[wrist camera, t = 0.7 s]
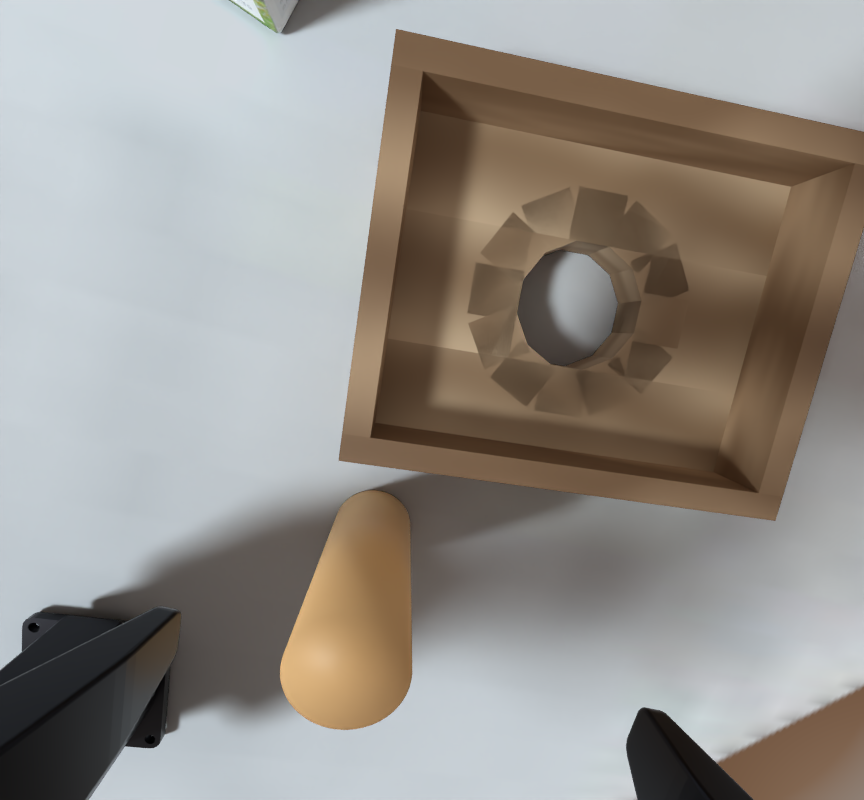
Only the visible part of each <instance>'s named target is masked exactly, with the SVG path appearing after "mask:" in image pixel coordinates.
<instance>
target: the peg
mask: <svg viewBox="0 0 864 800" xmlns="http://www.w3.org/2000/svg"><path fill="white" fill-rule="evenodd" d="M411 678H412V621H411V542H410V518H409V515H408V512H407V510H406V508H405V507H404V505H403V504H402V503H401V502H400V501H399V500H398V499H397V498H396V497H394V496H393V495H391V494H388V493H386V492H383V491H377V490H368V491H363V492H360V493H357V494H355V495H353V496H351V497H350V498H349V499H347V500H346V501H345V502H344V503H343V504H342V506H341V507H340V509H339V511H338V513H337V516H336V518H335V521H334V523H333V526H332V529H331V531H330V534H329V536H328V539H327V542H326V544H325V547H324V550H323V552H322V555H321V557H320V560H319V563H318V565H317V568H316V570H315V573H314V576H313V578H312V581H311V583H310V586H309V589H308V591H307V594H306V597H305V599H304V602H303V604H302V607H301V610H300V612H299V615H298V617H297V620H296V623H295V625H294V628H293V631H292V633H291V636H290V638H289V641H288V644H287V646H286V649H285V651H284V654H283V657H282V660H281V665H280V680H281V685H282V689H283V691H284V694H285V696H286V698H287V699H288V701H289V703H290V704H291V705H292V706H293V708H294V709H295V710H296V711H297V712H298V713H299V714H301V715H302V716H303V717H305V718H306V719H308V720H310V721H311V722H313V723H315V724H318V725H320V726H324V727H327V728H332V729H341V730H349V729H358V728H363V727H366V726H369V725H372V724H375V723H377V722H379V721H381V720H382V719H384V718H386V717H387V716H388V715H390V714H391V713H392V712H393V711H394V710H395V709H396V708H397V707H398V706H399V705H400V704H401V702H402V701H403V699H404V698H405V696H406V694H407V692H408V689H409V687H410V683H411Z"/></svg>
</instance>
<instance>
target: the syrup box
mask: <svg viewBox="0 0 864 800" xmlns="http://www.w3.org/2000/svg"><path fill="white" fill-rule="evenodd" d="M229 1H231V2H232V3H234V4H235V5H237V6H238V7H240V8H241V9H242V10H244V11H245V12H247V13H248V14H250V15H251V16H253V17H254V18H255V19H257V20H258V21H260V22H261V23H262V24H264V25H265V26H267V27H268V28H270V29H272V30H273V31H274V32H276V33H281V32H282V30H283V28H284V26H285V25H286V23H287V21H288V19H289V17H290V16H291V14H292V12H293V10H294V8H295V6H296V4H297V3H298V1H299V0H229Z"/></svg>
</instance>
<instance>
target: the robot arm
mask: <svg viewBox="0 0 864 800" xmlns="http://www.w3.org/2000/svg"><path fill="white" fill-rule="evenodd" d="M36 623H37V624H38V625H39V626H38V625H37V624H36ZM180 624H181V612H180V611H179V610H177V609H172V608H167V607H162V606H159V607H156V608H153V609H151V610H149V611H147V612H145V613H143V614H141V615H139V616H137V617H135V618H133V619H131V620H129V621H120V620H111V619H101V618H92V617H82V616H72V615H63V614H53V613H43V612H38V613H35V614H33V615H32V616H30V617H29V618H28V619H26V620H25V621H24V623H23V626H22V652H21V653H20V654H19V655H18V656H16V657H15V658H14V659H13V660H12V661H10V662H9V663H8V664H7V665H6V666H5V667H3V668H2V669H1V670H0V800H89V798H90V797H91V796H92V794H93V793H94V791H95V790H96V788H97V787H98V785H99V784H100V782H101V781H102V779H103V778H104V776H105V775H106V773H107V772H108V770H109V769H110V767H111V766H112V765H113V763H114V762H115V760H116V759H117V757H118V756H119V754H120V753H121V751H122V750H123V748H124V747H125V746H128V747H140V748H154V747H157V746H158V745H159V744H160V742H161V740H162V739H163V737H164V734H165V726H166V713H167V700H168V687H169V674H170V664H171V663H172V661H173V659H174V657H175V654H176V652H177V648H178V642H179V633H180ZM151 735H152V736H151ZM626 750H627V757H628V761H629V765H630V770H631V774H632V778H633V782H634V787H635V791H636V795H637V800H753V799H752V798H751V797H750V796H749V795H748V794H747V793H746V792H745V791H744V790H743V789H742V788H741V787H740V786H739V785H738V784H737V783H736V782H735V781H734V780H733V779H732V778H731V777H730V776H729V775H728V774H727V773H726V772H725V771H724V770H723V769H722V768H721V767H720V766H719V765H718V764H717V763H716V762H715V761H714V760H713V759H712V758H711V757H710V756H709V755H708V754H707V753H706V752H705V751H704V750H703V749H701V748H700V747H699V746H698V745H697V744H696V743H695V742H694V741H693V740H692V739H691V738H690V737H689V736H688V735H687V734H686V733H685V732H684V731H683V730H682V729H681V728H680V727H679V726H678V725H677V724H676V723H675V722H674V721H673V720H672V719H671V718H670V717H669V716H668V715H667V714H666V713H664V712H662V711H660V710H655V709H650V708H645V707H644V708H641V709H640V710H639V711H638V713H637V716H636V718H635V721H634V723H633V725H632V728H631V730H630V733H629V735H628V738H627V743H626Z"/></svg>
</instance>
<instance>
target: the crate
mask: <svg viewBox="0 0 864 800" xmlns="http://www.w3.org/2000/svg"><path fill="white" fill-rule="evenodd" d="M863 228H864V132H862V131H857V130H853V129H848V128H844V127H839V126H835V125H830V124H825V123H821V122H816V121H812V120H807V119H803V118H798V117H794V116H789V115H785V114H780V113H775V112H771V111H766V110H762V109H757V108H753V107H748V106H744V105H739V104H735V103H730V102H725V101H721V100H716V99H712V98H707V97H703V96H698V95H694V94H689V93H685V92H680V91H675V90H671V89H666V88H662V87H657V86H653V85H648V84H644V83H639V82H635V81H630V80H625V79H621V78H616V77H612V76H607V75H603V74H598V73H594V72H589V71H585V70H580V69H576V68H571V67H566V66H562V65H557V64H553V63H548V62H544V61H539V60H535V59H530V58H526V57H521V56H516V55H512V54H507V53H503V52H498V51H494V50H489V49H485V48H480V47H476V46H471V45H466V44H462V43H457V42H453V41H448V40H444V39H439V38H435V37H430V36H426V35H421V34H416V33H412V32H407V31H403V30H398V29H396V34H395V42H394V49H393V57H392V64H391V72H390V79H389V87H388V94H387V102H386V109H385V117H384V124H383V131H382V139H381V146H380V154H379V161H378V169H377V176H376V184H375V191H374V199H373V206H372V214H371V221H370V229H369V236H368V244H367V251H366V259H365V266H364V274H363V281H362V289H361V296H360V304H359V311H358V319H357V326H356V334H355V341H354V349H353V356H352V364H351V371H350V379H349V386H348V394H347V401H346V409H345V416H344V424H343V431H342V439H341V446H340V454H339V461H345V462H352V463H360V464H367V465H374V466H382V467H389V468H396V469H403V470H411V471H418V472H425V473H432V474H440V475H447V476H454V477H461V478H469V479H476V480H483V481H490V482H498V483H505V484H512V485H519V486H527V487H534V488H541V489H549V490H556V491H563V492H570V493H578V494H585V495H592V496H599V497H607V498H614V499H621V500H628V501H636V502H643V503H650V504H657V505H665V506H672V507H679V508H686V509H694V510H701V511H708V512H715V513H723V514H730V515H737V516H745V517H752V518H759V519H766V520H774V521H775V520H776V517H777V514H778V510H779V507H780V504H781V500H782V497H783V494H784V490H785V487H786V484H787V480H788V477H789V474H790V470H791V467H792V464H793V460H794V457H795V454H796V451H797V447H798V444H799V441H800V437H801V434H802V431H803V427H804V424H805V421H806V417H807V414H808V411H809V407H810V404H811V401H812V397H813V394H814V391H815V387H816V384H817V381H818V377H819V374H820V371H821V367H822V364H823V361H824V358H825V354H826V351H827V348H828V344H829V341H830V338H831V334H832V331H833V328H834V324H835V321H836V318H837V314H838V311H839V308H840V304H841V301H842V298H843V294H844V291H845V288H846V284H847V281H848V278H849V275H850V271H851V268H852V265H853V261H854V258H855V255H856V251H857V248H858V245H859V241H860V238H861V235H862V231H863ZM557 250H563V251H569V252H574V253H580V254H585V255H589V256H590V257H591V258H592V259H593V260H594V261H595V262H596V263H597V264H598V265H600V266H601V267H602V268H603V269H604V270H605V271H606V272H607V273H608V274H609V275H610V278H611V281H612V284H613V288H614V291H615V295H616V298H617V301H618V306H617V311H616V315H615V319H614V324H613V328H612V333H611V334H610V335H609V336H608V338H607V339H606V340H605V341H604V342H603V343H602V345H601V346H600V347H599V348H598V349H597V350H596V352H595V353H594V354H593V355H592V356H590V357H587V358H584V359H582V360H579V361H577V362H574V363H571V364H569V365H566V366H562V365H556V364H550V363H548V362H547V361H546V360H545V359H544V358H543V357H541V356H540V355H539V354H538V353H537V352H536V351H534V350H533V349H532V348H531V347H530V346H529V345H527V342H526V339H525V336H524V333H523V330H522V327H521V324H520V321H519V318H518V315H517V310H518V305H519V300H520V294H521V289H522V284H523V279H524V278H525V277H526V276H527V274H528V273H529V272H530V271H531V270H532V268H533V267H534V266H535V265H536V263H537V262H538V261H539V260H540V259H541V257H542V256H544V255H547V254H550V253H552V252H555V251H557Z"/></svg>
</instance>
